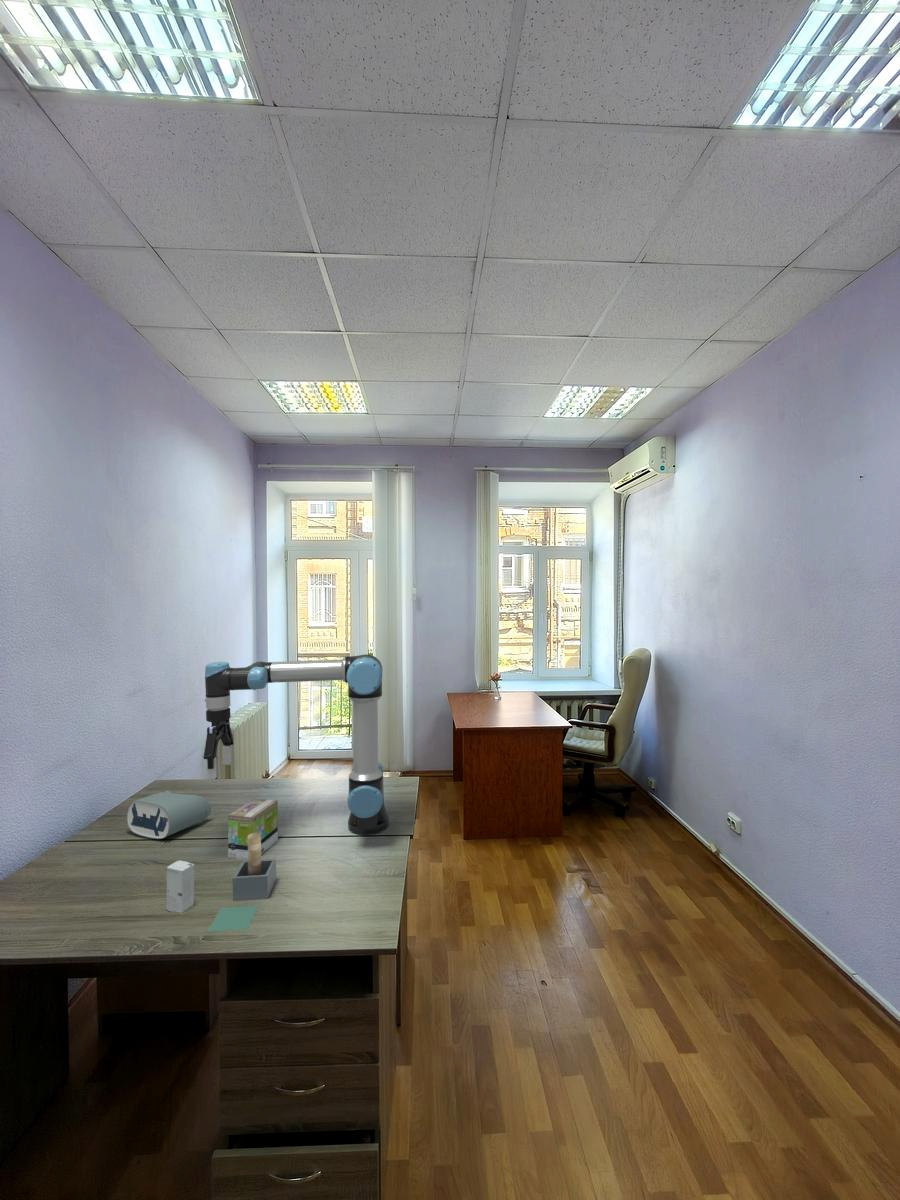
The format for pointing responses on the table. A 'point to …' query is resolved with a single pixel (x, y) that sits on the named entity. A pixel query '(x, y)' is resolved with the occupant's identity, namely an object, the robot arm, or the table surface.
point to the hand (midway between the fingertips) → (219, 771)
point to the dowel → (254, 854)
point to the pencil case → (166, 814)
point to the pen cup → (254, 881)
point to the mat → (233, 918)
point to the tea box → (252, 826)
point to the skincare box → (180, 886)
